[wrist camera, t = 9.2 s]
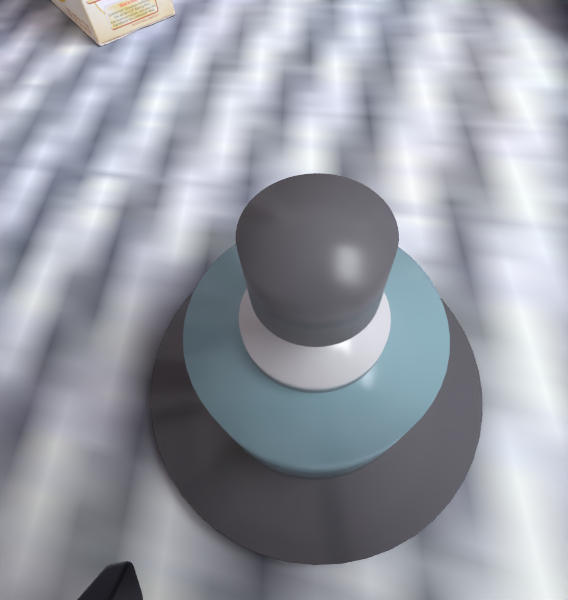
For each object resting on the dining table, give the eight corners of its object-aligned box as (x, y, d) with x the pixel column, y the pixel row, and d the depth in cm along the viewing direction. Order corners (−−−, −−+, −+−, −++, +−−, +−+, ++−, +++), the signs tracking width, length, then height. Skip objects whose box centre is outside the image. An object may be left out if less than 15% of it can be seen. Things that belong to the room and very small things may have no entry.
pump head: (400, 305, 11) (432, 229, 8) (315, 389, 10) (318, 335, 7) (312, 238, 12) (314, 152, 10) (229, 306, 11) (202, 233, 8)
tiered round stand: (542, 376, 16) (645, 311, 11) (315, 670, 12) (321, 772, 7) (310, 207, 21) (310, 111, 16) (96, 374, 17) (10, 313, 12)
